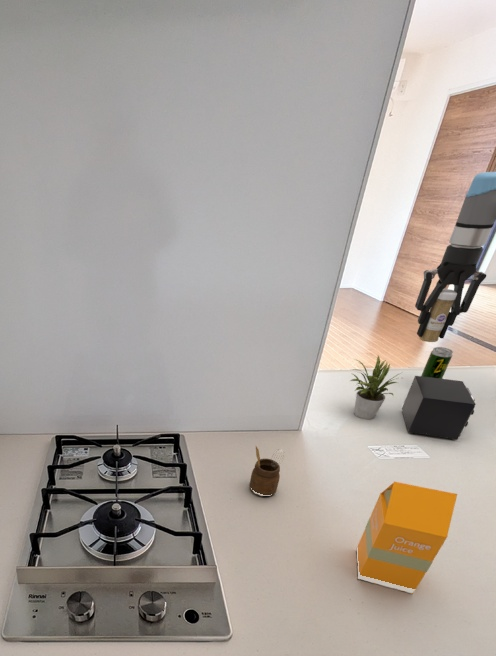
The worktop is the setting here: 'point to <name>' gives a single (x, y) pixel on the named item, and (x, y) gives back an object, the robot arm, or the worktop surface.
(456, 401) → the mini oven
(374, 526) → the orange juice
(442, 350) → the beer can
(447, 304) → the sprinkles bottle
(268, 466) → the utensil holder
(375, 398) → the house plant
